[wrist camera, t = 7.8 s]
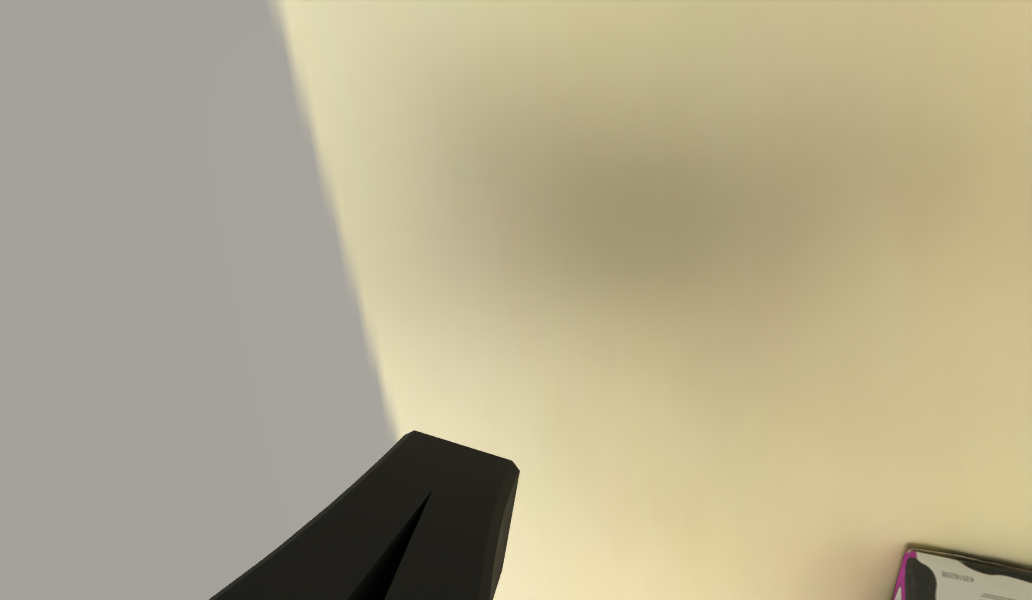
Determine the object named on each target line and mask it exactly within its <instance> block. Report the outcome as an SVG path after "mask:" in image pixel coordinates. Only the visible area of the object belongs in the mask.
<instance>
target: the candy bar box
mask: <svg viewBox="0 0 1032 600" xmlns="http://www.w3.org/2000/svg"><path fill="white" fill-rule="evenodd" d="M892 600H1032V571H1029V570H1025V569H1019V568H1014V567H1010V566H1007V565H1003V564H1000V563H994V562H987V561H982V560H978V559H974V558H970V557H965V556H961V555H957V554H950V553H942V552H936V551H929V550H923V549H912V548H911V549H909V550H908V551H906V552H905V555H904V558H903V562H902V566H901V569H900V572H899V575H898V579H897V582H896V587H895V591H894V595H893V599H892Z"/></svg>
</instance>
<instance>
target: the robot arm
mask: <svg viewBox="0 0 1032 600" xmlns="http://www.w3.org/2000/svg"><path fill="white" fill-rule="evenodd" d="M519 473H520V471H519V469H518V468H517V467H516V465H515V464H514V462H513V461H511V460H508V459H505V458H502V457H498V456H495V455H492V454H489V453H486V452H482V451H479V450H476V449H473V448H469V447H466V446H463V445H460V444H457V443H453V442H450V441H447V440H444V439H440V438H437V437H434V436H431V435H428V434H424V433H421V432H418V431H415V430H414V431H412V432H410V433H408V434H406V435H404V436H403V437H402V438H401V439H400V440H399V441H398V442H397V443H396V444H395V445H394V446H393V447H392V448H391V449H390V450H389V451H388V452H387V453H386V454H385V455H384V456H383V457H382V458H381V459H380V460H379V461H378V462H377V463H375V464H374V465H373V466H372V467H371V468H370V469H369V470H368V471H367V472H366V473H365V474H364V475H362V476H361V477H360V478H359V479H358V480H357V481H356V482H355V483H354V484H353V485H352V486H351V487H349V488H348V489H347V490H346V491H345V492H343V493H342V494H341V495H340V496H339V497H338V498H337V499H336V500H334V501H333V502H332V503H331V504H330V505H329V506H328V507H326V508H325V509H324V510H323V511H322V512H320V513H319V514H318V515H317V516H316V517H314V518H313V519H312V520H311V521H309V522H308V523H307V524H306V525H305V526H303V527H302V528H301V529H300V530H299V531H298V532H296V533H295V534H294V535H293V536H292V537H290V538H289V539H288V540H287V541H285V542H284V543H283V544H282V545H280V546H279V547H278V548H277V549H275V550H274V551H273V552H272V553H270V554H269V555H268V556H267V557H265V558H264V559H263V560H261V561H260V562H259V563H257V564H256V565H255V566H253V567H252V568H251V569H249V570H248V571H247V572H245V573H244V574H242V576H240V577H239V578H237V579H236V580H235V581H233V582H232V583H231V584H229V585H228V586H226V587H225V588H224V589H222V590H221V591H220V592H219V593H217V594H216V595H214V596H213V597H212V598H211V599H209V600H493V597H494V594H495V591H496V588H497V585H498V581H499V578H500V575H501V572H502V568H503V562H504V556H505V551H506V545H507V540H508V534H509V529H510V523H511V517H512V512H513V506H514V501H515V495H516V489H517V484H518V478H519Z"/></svg>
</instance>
